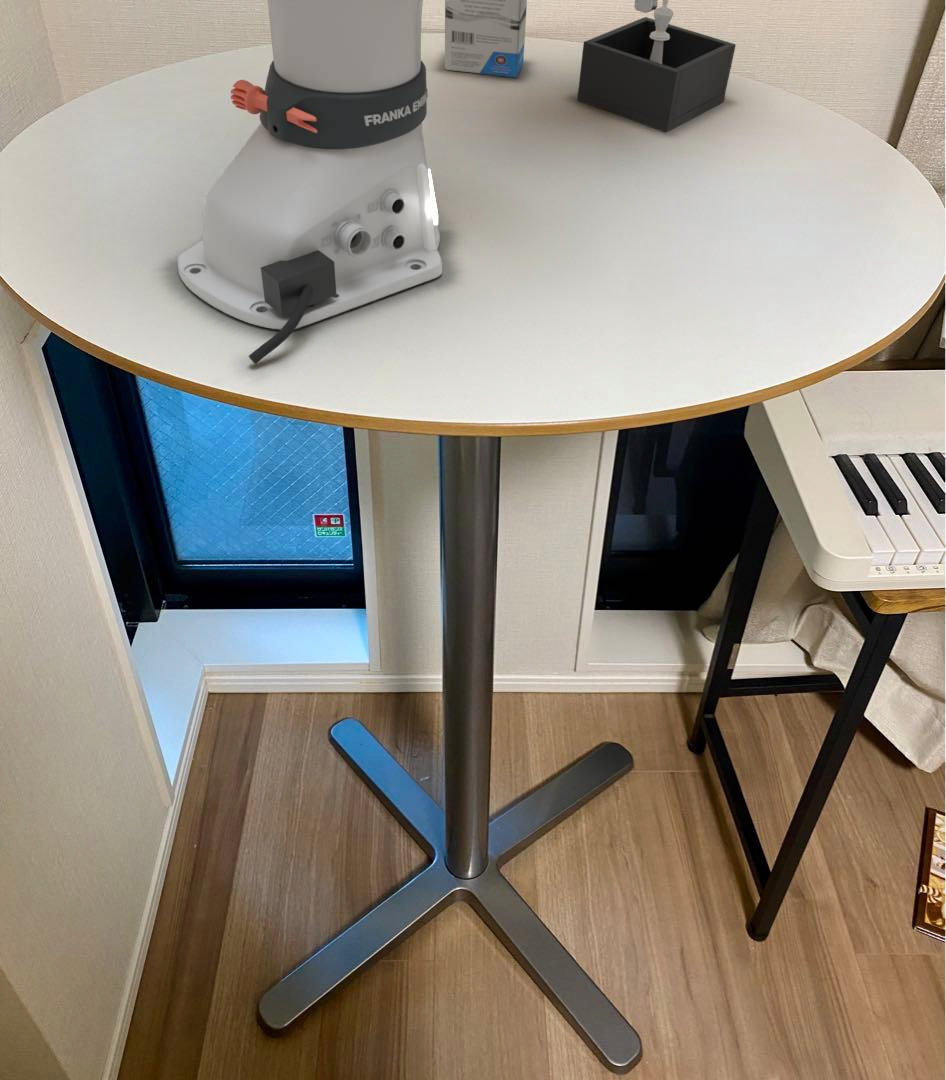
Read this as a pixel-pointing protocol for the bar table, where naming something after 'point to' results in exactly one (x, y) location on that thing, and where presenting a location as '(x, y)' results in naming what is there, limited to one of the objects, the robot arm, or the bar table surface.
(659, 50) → the chess piece
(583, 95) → the bin
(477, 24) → the ink box
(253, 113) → the robot arm
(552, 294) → the bar table surface
